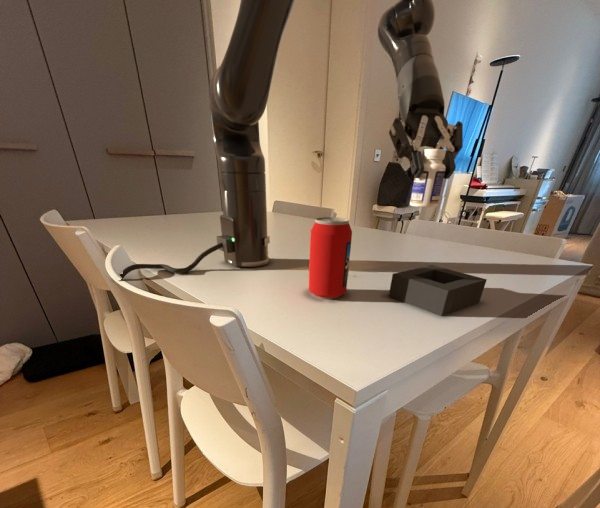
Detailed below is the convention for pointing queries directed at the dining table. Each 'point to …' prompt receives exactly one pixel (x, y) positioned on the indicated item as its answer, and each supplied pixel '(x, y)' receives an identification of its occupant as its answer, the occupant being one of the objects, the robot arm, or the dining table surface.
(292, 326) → the dining table surface
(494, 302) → the dining table surface
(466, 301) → the socket pad
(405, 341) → the dining table surface
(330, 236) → the beverage can
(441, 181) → the pill bottle
